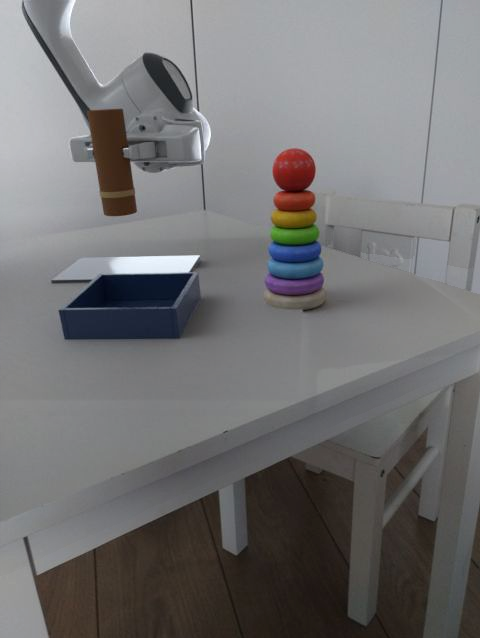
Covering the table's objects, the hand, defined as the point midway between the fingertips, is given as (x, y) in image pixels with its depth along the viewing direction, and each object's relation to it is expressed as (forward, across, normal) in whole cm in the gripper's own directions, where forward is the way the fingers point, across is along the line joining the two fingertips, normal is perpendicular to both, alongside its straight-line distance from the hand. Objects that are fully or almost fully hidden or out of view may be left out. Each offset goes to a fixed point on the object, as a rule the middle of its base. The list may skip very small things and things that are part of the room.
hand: (108, 153), depth 79 cm
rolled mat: (-1, 0, +8) cm, 8 cm away
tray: (+16, +11, +18) cm, 27 cm away
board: (-2, 0, +18) cm, 18 cm away
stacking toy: (+6, +28, +18) cm, 34 cm away
